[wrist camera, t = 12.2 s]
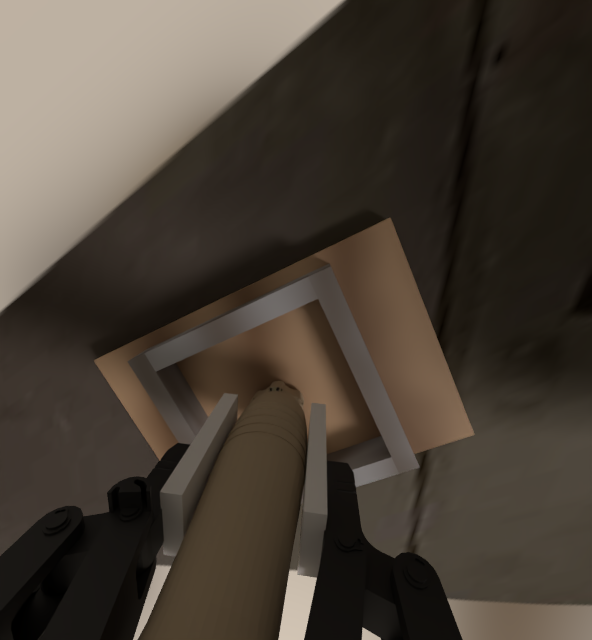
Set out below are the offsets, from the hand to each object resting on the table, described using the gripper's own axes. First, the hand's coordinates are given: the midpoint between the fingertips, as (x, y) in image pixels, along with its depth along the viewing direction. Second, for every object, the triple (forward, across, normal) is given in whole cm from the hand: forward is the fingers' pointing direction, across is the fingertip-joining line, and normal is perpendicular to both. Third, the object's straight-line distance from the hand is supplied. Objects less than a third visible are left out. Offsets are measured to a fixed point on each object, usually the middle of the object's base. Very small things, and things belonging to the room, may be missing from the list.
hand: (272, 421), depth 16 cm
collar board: (+4, 0, 0) cm, 4 cm away
